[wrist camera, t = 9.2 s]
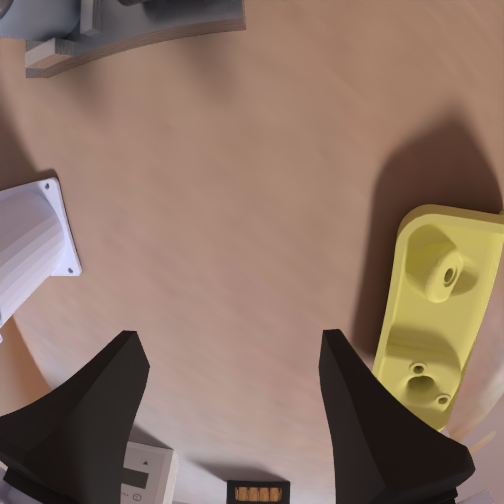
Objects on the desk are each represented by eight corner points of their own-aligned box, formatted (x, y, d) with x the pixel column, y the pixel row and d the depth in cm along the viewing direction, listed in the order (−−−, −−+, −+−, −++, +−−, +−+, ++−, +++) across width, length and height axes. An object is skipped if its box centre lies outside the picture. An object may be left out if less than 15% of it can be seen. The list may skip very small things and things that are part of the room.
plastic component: (398, 208, 16) (539, 231, 12) (400, 188, 22) (507, 204, 18) (356, 421, 24) (451, 436, 19) (372, 371, 30) (453, 384, 25)
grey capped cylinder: (41, 52, 12) (-28, 49, 6) (37, 11, 10) (-26, -1, 5) (85, 25, 11) (18, 6, 6) (80, -17, 10) (20, -43, 4)
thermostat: (174, 449, 35) (156, 539, 21) (188, 479, 41) (177, 549, 28) (99, 432, 35) (71, 512, 22) (125, 467, 41) (108, 531, 28)
